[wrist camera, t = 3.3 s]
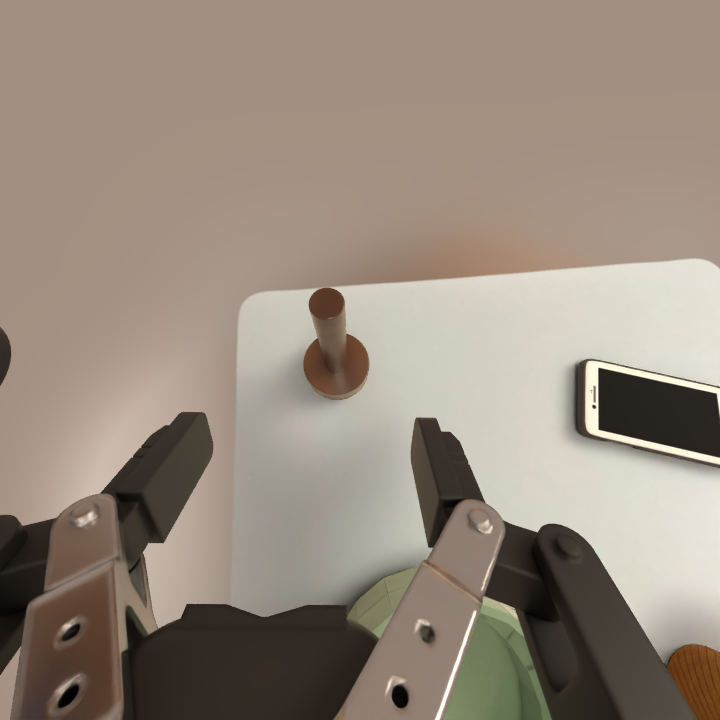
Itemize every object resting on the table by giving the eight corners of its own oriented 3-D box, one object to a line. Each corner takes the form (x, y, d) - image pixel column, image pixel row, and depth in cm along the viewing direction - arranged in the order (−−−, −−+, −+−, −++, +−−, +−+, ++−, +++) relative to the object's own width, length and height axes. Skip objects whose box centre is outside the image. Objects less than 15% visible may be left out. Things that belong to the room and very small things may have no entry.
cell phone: (734, 471, 28) (747, 472, 27) (574, 434, 29) (582, 434, 28) (723, 391, 31) (735, 389, 30) (576, 359, 31) (583, 356, 30)
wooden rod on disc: (315, 407, 29) (286, 367, 16) (300, 350, 31) (262, 270, 17) (375, 389, 30) (395, 337, 16) (357, 334, 31) (362, 246, 18)
